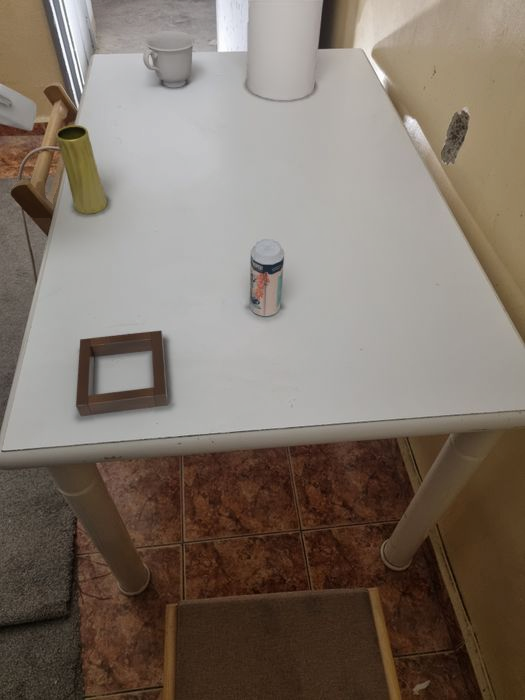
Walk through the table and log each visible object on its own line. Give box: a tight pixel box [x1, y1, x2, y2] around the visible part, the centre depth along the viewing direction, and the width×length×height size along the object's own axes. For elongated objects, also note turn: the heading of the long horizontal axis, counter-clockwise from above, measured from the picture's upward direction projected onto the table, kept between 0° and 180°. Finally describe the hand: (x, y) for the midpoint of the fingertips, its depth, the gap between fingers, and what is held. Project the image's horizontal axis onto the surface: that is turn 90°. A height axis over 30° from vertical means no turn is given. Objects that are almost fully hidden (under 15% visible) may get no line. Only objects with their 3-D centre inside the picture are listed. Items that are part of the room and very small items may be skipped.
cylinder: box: [246, 0, 324, 101], centre depth 122 cm, size 17×17×28 cm
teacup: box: [142, 30, 196, 89], centre depth 127 cm, size 12×15×10 cm
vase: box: [55, 124, 108, 215], centre depth 93 cm, size 6×6×14 cm
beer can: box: [249, 238, 285, 317], centre depth 77 cm, size 5×5×12 cm
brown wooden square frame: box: [75, 330, 169, 417], centre depth 72 cm, size 12×12×2 cm
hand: (1, 117), depth 74 cm, fingers open, 8 cm apart
